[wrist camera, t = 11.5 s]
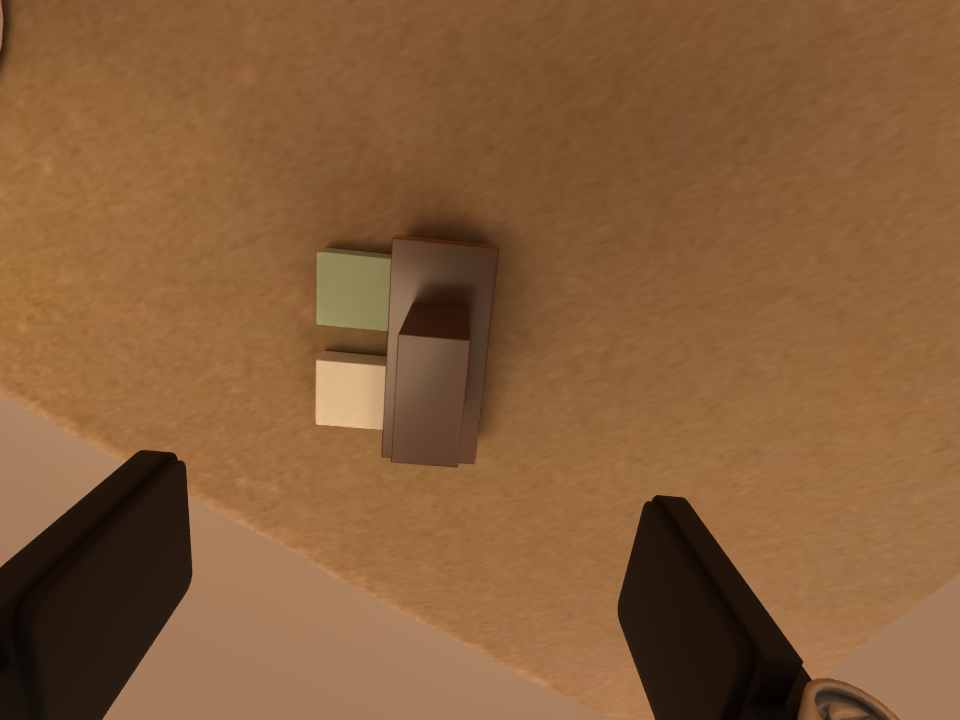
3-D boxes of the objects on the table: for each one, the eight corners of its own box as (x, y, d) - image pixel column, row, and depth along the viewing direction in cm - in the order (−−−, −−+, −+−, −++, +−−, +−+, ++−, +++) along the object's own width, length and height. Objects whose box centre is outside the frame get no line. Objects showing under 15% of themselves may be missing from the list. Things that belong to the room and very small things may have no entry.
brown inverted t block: (388, 434, 33) (361, 521, 24) (398, 232, 29) (371, 251, 20) (474, 440, 33) (477, 529, 24) (496, 242, 29) (509, 265, 21)
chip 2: (323, 411, 32) (315, 424, 30) (324, 350, 31) (315, 360, 29) (388, 417, 32) (384, 430, 31) (391, 356, 31) (387, 366, 29)
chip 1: (324, 317, 30) (316, 324, 28) (325, 247, 29) (316, 251, 27) (393, 323, 30) (389, 331, 29) (397, 254, 29) (393, 258, 27)
